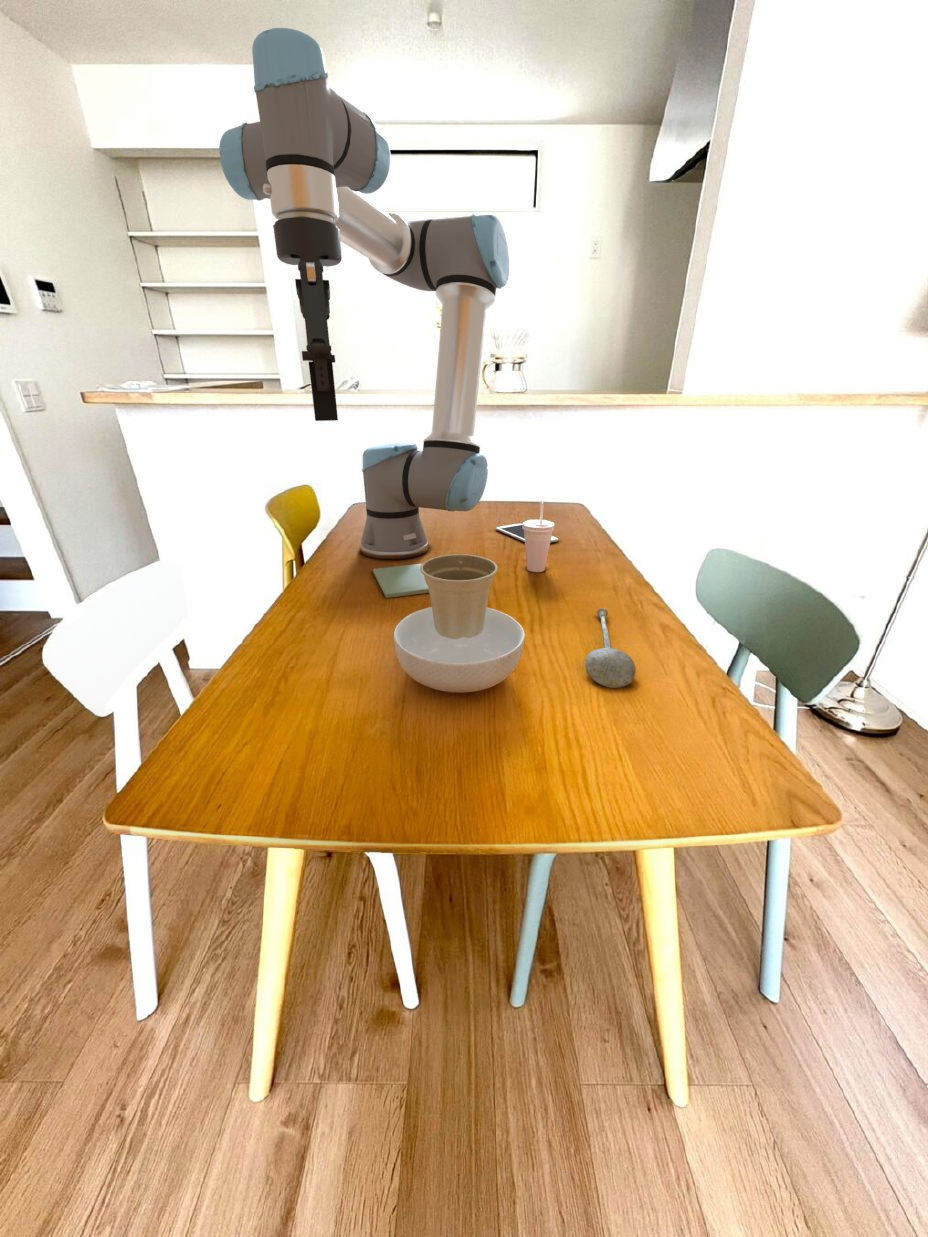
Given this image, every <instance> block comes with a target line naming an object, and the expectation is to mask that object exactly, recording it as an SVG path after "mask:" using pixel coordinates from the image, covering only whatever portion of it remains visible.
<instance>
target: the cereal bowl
mask: <svg viewBox="0 0 928 1237" xmlns="http://www.w3.org/2000/svg"><path fill="white" fill-rule="evenodd" d="M525 640H526V632H525V630H524V628H523V626H522V625H521V623H519V621H518V620H516V619H515V618H514V617H512V616H510V615H509V614H507V613H505V612H502V611H501V610H497V609H494V608H491V607H487V608H486V613H485V620H484V627H483V631H482V632H481V633H480V634H479V635H477V636H475V637H472V638H466V637H462V638H459V639H450V638H447V637H444V636H441V635H440V634H438V633H437V631H436V629H435V624H434V618H433V612H432V606H429V607H426V608H422V609H420V610H416V611H414V612H413V613H410V614H408V615H407V616H405V617H403V618H402V619H401V620H400V621H399V622H398V624H396V627H395V628H394V630H393V644H394V652H395V655H396V657H397V660H398V663H399V665H400V666H401V668H402V669H403V670H404V672H406V674H407V675H408V676H410V678H412V679H413V680H414V681H415V682H417V683H419V684H420V685H423V686H425V687H427V688H429V689H430V688H431V689H433V690H437V691H441V692H445V693H446V692H447V693H457V694H459V693H473V692H479V691H483V690H486V689H490V688H493V687H495V686H497V685H498V684H500V683H502V682H503V681H504V680H506V679H507V678H508V677H510V675H512V674H513V673H514V672H515V670H516V669H517V668H518V665H519V664H520V662H521V659H522V657H523V653H524V647H525Z"/></svg>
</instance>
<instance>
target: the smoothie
mask: <svg viewBox="0 0 928 1237" xmlns="http://www.w3.org/2000/svg"><path fill="white" fill-rule="evenodd" d="M544 505H545V504H544V501H540V508H539V519H528V520H526V521H523V522H522V524H523V527H522V528H523V529H524V536H525V542H524V549H525V560H526V561H525V562H526V570H527V571H529V572H531V573H541V572H544V571H545V570H546V565H547V561H548V556H549V550H550V545H551V543H550V541H551V536H553V531H554V530H555V523H554V522H553V521H550V520H547V519H543V518H544Z"/></svg>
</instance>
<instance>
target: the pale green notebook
mask: <svg viewBox="0 0 928 1237" xmlns="http://www.w3.org/2000/svg"><path fill="white" fill-rule="evenodd" d="M422 564H423V563H417V564H415V563H414V564H407V565H396V566H389V567H378V568H372V574H373V575H374V577H375V579H376V581H377V583H378V584H379V587H380V589H381V591H382V593H383V595H384V597H385V598H386V599H390V598H397V597H406V596H415V595H421V594H429V589H428V585H427V584H426V582H425V578H424V575H423V574H422V573H421V570H420V567H421V565H422Z"/></svg>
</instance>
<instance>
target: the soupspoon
mask: <svg viewBox="0 0 928 1237" xmlns="http://www.w3.org/2000/svg"><path fill="white" fill-rule="evenodd" d="M596 615H597V617H598V618H600V622H601V623H600V624H601V630H602V638H603V647H600V648H596V649H593V650H591V651H590V652H589V653H588V654H587V656H586V658H585V670H586V673H587V674H588V676H589V677H590V678H591V679H592V680H593V681H595V683H597V684H599V685H601V686H604V687H606V688H609V689H610V688H611V689H617V688H619V689H620V688H624V687H627V686H629V685H630V684H631V683H633V681H634V679H635V677H636V673H637V672H636V670H637V669H636V664H635V662H634V660H633V658H632V657H631V656H630V655H629V654H628V653H626V652H624V651H622V650H620V649H618V648H613V647H612V643H611V638H610V634H609V629H608V626H607V621H606V619H607V616H608V615H609V611H608V609H606V608H605V607H600V608H598V609H597V610H596Z"/></svg>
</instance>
